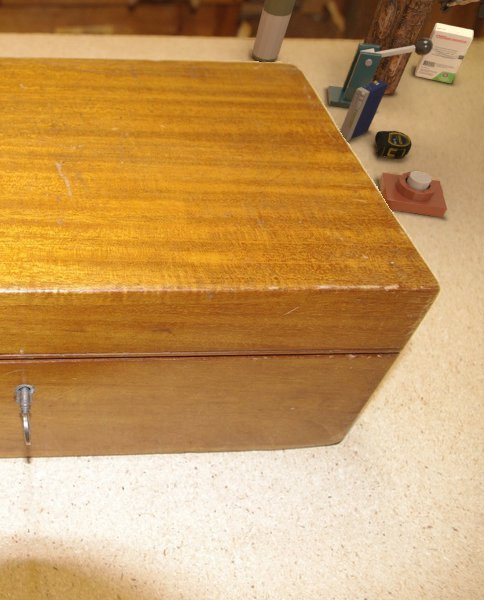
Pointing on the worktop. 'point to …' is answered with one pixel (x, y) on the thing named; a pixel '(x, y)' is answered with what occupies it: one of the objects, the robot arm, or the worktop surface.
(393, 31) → the tree bark piece
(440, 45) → the white cardboard box
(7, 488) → the worktop surface
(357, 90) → the cassette player
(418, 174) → the flush button
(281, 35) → the bottle
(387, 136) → the tape measure
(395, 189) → the block
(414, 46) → the flush lever
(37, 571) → the worktop surface
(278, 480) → the worktop surface
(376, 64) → the bracket
